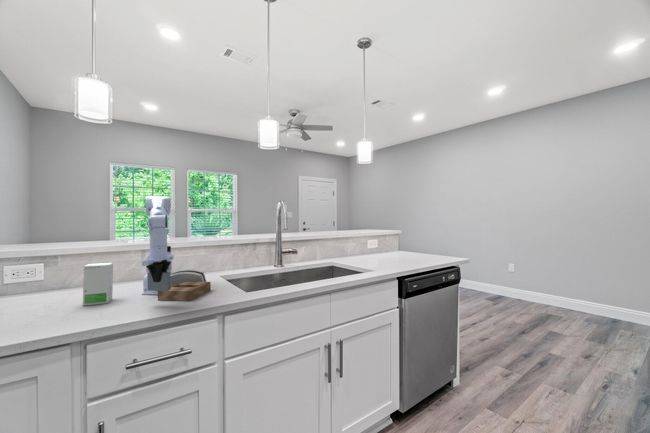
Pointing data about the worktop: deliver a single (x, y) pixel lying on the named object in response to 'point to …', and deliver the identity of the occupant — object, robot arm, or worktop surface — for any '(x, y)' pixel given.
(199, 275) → the grey arched slab
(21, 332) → the worktop surface
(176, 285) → the slotted tan panel
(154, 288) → the grey flat-faced block
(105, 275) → the skincare box
